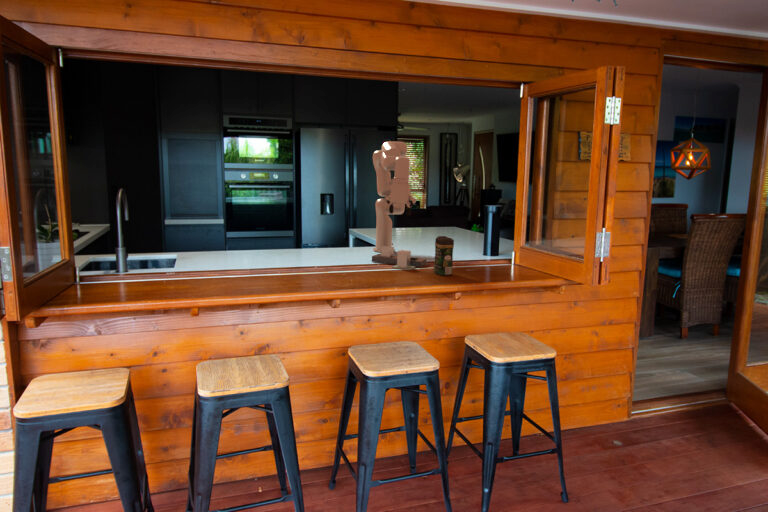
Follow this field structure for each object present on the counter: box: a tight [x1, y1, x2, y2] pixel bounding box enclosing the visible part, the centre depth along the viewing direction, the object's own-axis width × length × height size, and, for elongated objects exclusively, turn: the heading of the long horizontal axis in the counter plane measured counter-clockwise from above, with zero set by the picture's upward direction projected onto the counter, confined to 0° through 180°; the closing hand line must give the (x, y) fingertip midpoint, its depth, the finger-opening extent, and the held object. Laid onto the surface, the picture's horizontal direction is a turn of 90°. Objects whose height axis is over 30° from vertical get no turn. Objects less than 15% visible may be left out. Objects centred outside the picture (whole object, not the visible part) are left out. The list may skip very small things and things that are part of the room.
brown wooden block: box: [380, 246, 395, 258], centre depth 282 cm, size 5×5×8 cm
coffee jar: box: [433, 235, 455, 277], centre depth 254 cm, size 10×8×19 cm
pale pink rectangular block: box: [396, 249, 412, 268], centre depth 267 cm, size 5×5×8 cm
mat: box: [391, 264, 416, 271], centre depth 267 cm, size 7×10×1 cm
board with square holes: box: [371, 253, 428, 268], centre depth 279 cm, size 9×28×3 cm, turn 66°
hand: (399, 214), depth 275 cm, fingers open, 9 cm apart
